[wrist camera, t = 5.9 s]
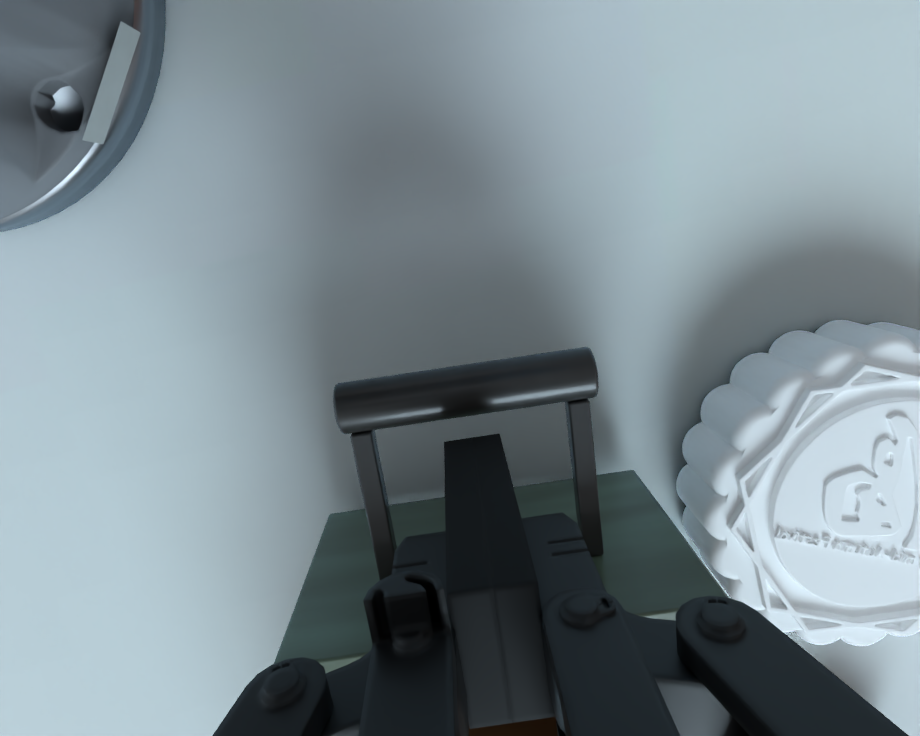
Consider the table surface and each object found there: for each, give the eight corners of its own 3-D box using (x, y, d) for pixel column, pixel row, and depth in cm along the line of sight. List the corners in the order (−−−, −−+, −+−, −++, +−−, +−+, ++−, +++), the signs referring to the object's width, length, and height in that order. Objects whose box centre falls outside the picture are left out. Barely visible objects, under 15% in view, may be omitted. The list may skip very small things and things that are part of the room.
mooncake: (1026, 353, 23) (1132, 379, 19) (902, 619, 26) (974, 684, 22) (730, 286, 22) (785, 300, 18) (635, 571, 25) (667, 630, 21)
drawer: (293, 355, 21) (209, 437, 13) (621, 306, 21) (725, 361, 13) (395, 810, 26) (375, 1056, 19) (657, 773, 26) (745, 1005, 19)
